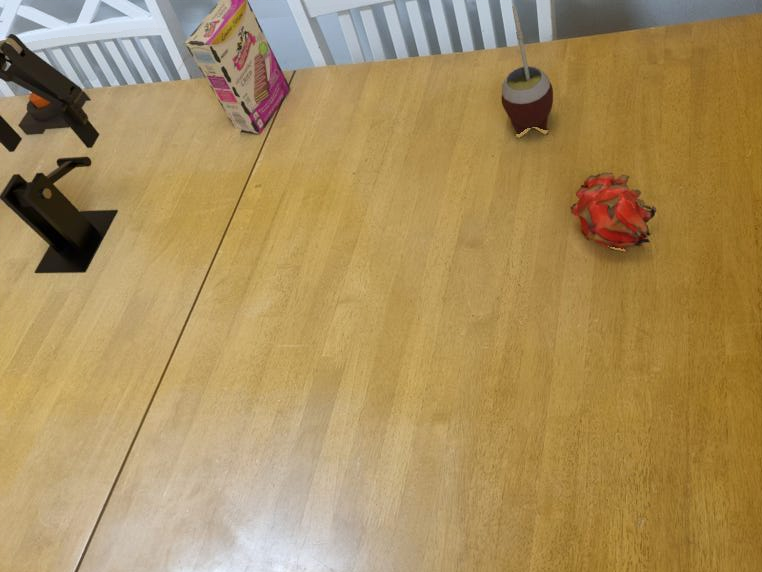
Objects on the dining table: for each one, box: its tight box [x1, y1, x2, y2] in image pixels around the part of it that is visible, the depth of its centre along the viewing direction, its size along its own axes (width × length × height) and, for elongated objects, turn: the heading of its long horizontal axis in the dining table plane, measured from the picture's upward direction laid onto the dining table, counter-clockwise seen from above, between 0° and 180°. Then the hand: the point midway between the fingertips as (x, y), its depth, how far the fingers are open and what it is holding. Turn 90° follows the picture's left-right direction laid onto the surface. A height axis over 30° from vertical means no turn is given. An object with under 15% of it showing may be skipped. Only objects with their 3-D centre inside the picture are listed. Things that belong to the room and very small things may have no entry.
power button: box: [28, 92, 50, 108], centre depth 128 cm, size 4×4×2 cm
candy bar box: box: [184, 0, 291, 135], centre depth 113 cm, size 11×5×16 cm, turn 160°
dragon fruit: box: [570, 172, 657, 249], centre depth 88 cm, size 8×8×12 cm
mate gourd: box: [501, 5, 554, 134], centre depth 99 cm, size 8×8×15 cm
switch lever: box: [13, 156, 92, 207], centre depth 106 cm, size 12×5×2 cm, turn 171°
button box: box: [17, 90, 92, 136], centre depth 130 cm, size 10×8×4 cm
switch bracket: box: [0, 172, 119, 274], centre depth 106 cm, size 12×9×13 cm
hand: (54, 143), depth 106 cm, fingers open, 13 cm apart
